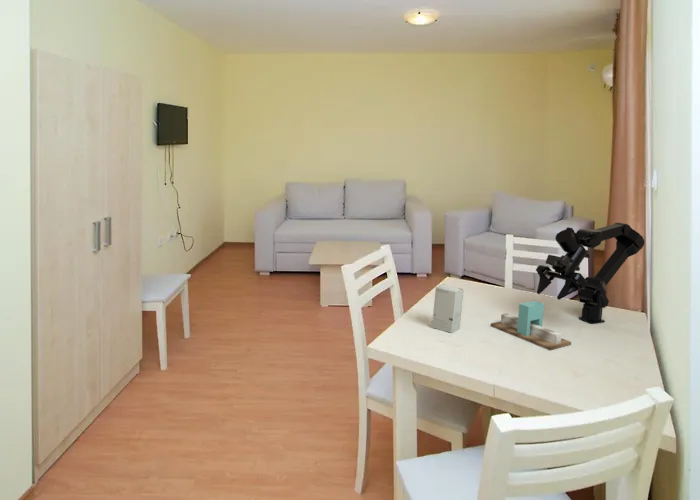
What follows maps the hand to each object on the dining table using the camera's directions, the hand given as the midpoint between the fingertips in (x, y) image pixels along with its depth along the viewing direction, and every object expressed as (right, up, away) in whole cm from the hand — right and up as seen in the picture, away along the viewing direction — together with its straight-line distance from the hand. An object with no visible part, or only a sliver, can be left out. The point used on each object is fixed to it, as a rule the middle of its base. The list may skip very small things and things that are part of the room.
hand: (547, 296), depth 201 cm
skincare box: (-34, -12, +3) cm, 36 cm away
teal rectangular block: (-7, -12, -2) cm, 14 cm away
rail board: (-7, -13, -2) cm, 15 cm away
